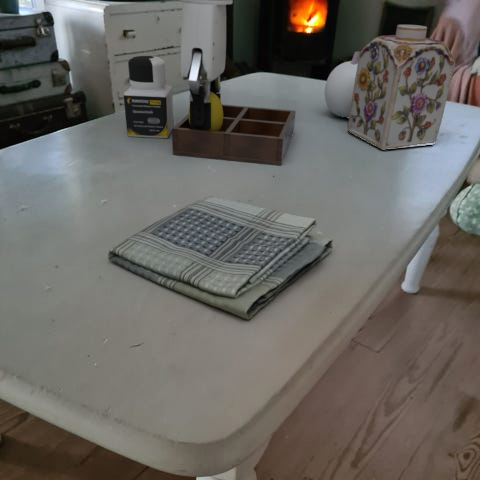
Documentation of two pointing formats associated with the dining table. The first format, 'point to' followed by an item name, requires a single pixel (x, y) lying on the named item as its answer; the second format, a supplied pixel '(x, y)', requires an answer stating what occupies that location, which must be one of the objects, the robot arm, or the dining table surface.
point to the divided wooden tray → (239, 136)
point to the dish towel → (224, 253)
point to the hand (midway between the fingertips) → (205, 122)
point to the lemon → (214, 112)
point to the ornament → (341, 87)
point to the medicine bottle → (148, 99)
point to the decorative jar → (401, 88)
